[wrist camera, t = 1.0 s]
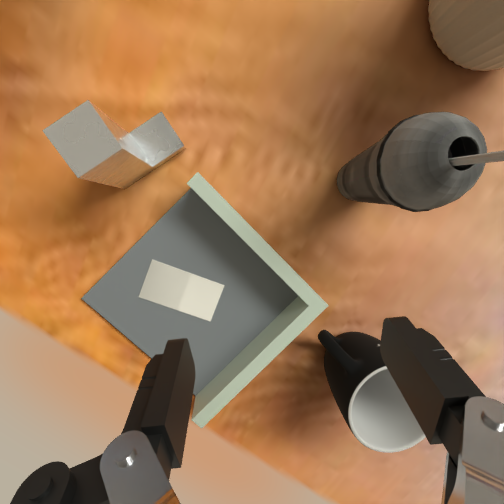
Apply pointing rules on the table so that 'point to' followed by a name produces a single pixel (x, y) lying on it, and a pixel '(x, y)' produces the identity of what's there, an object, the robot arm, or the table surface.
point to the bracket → (112, 146)
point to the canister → (469, 32)
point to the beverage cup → (419, 163)
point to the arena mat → (191, 289)
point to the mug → (368, 393)
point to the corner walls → (273, 334)
